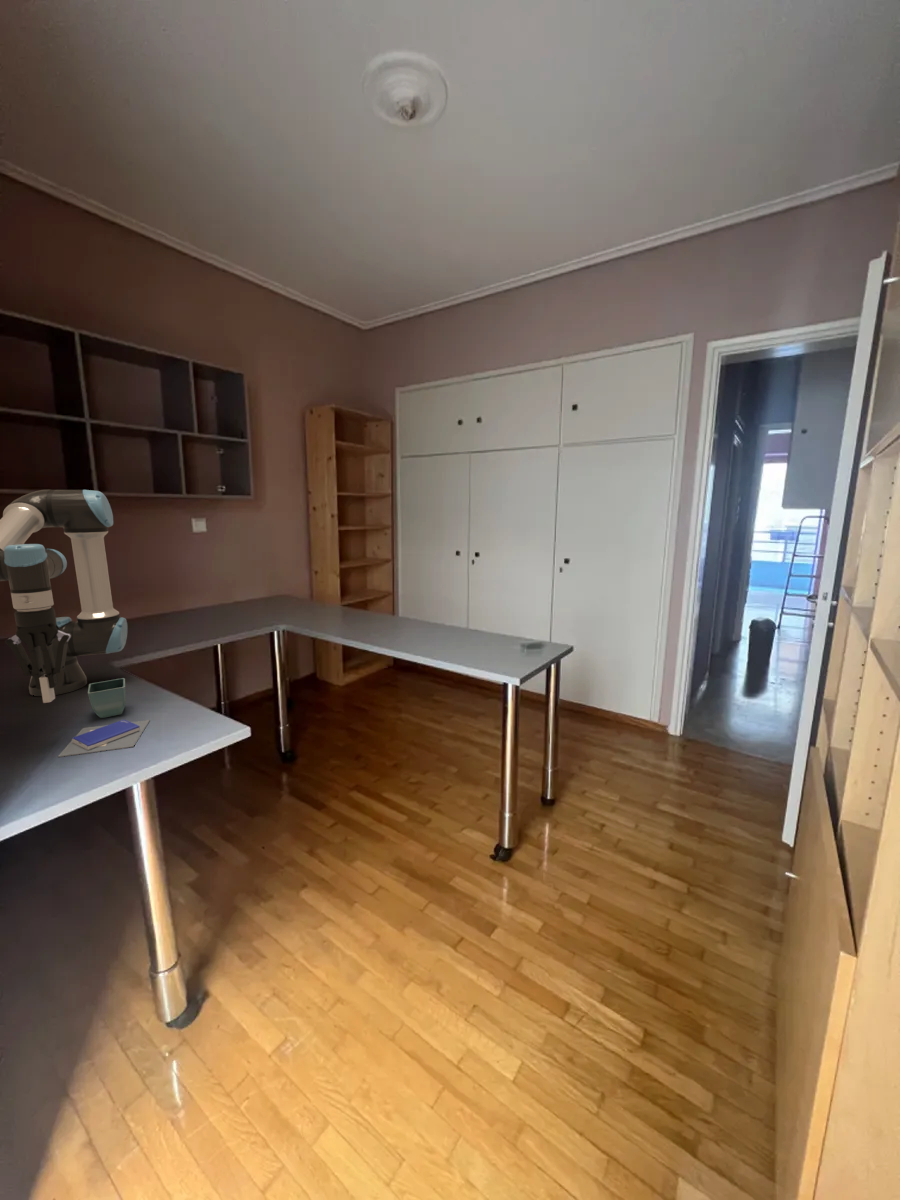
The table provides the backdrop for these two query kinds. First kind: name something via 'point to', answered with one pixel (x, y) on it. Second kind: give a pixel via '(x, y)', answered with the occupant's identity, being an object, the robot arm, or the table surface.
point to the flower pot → (107, 697)
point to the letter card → (112, 745)
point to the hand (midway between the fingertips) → (49, 700)
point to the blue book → (105, 734)
